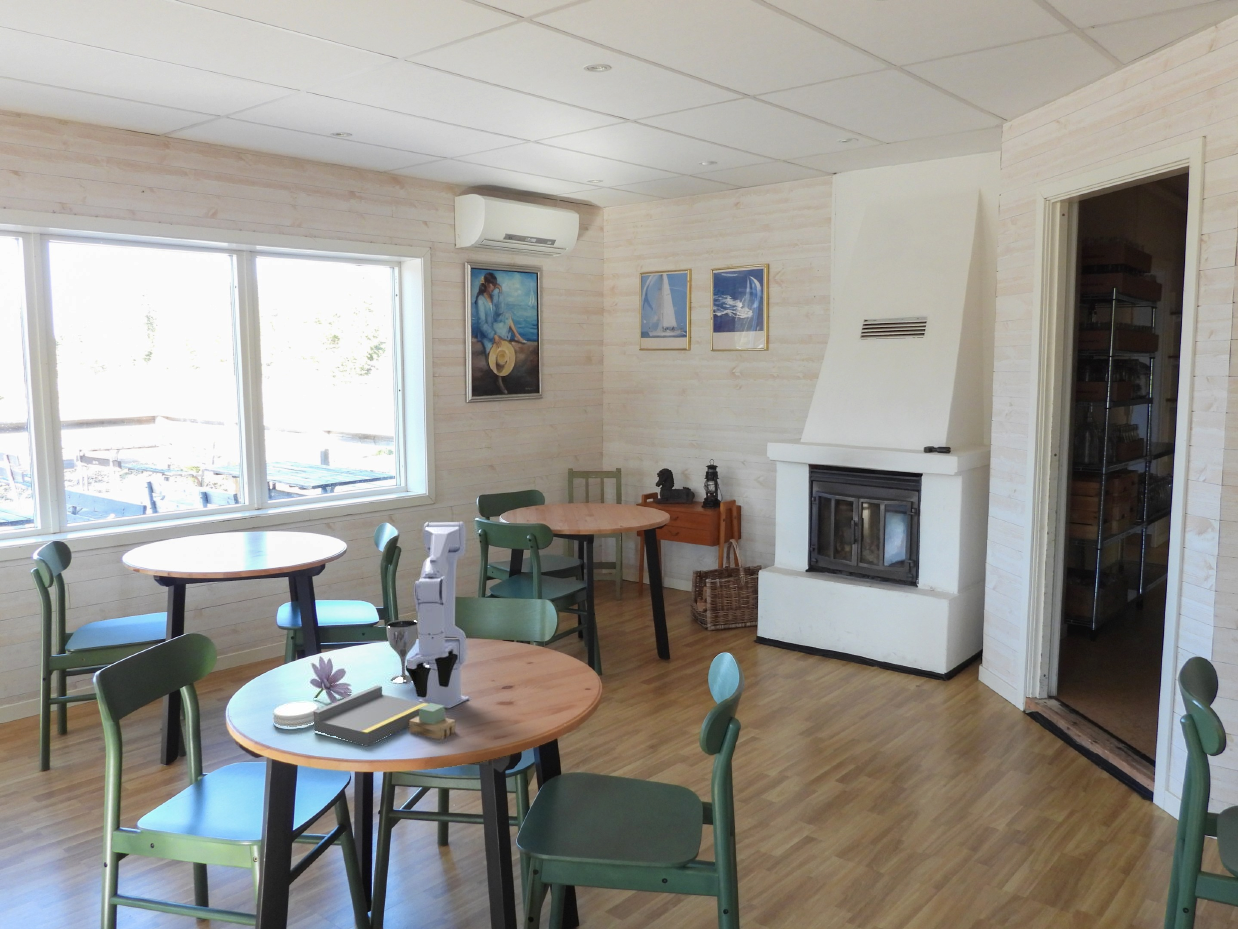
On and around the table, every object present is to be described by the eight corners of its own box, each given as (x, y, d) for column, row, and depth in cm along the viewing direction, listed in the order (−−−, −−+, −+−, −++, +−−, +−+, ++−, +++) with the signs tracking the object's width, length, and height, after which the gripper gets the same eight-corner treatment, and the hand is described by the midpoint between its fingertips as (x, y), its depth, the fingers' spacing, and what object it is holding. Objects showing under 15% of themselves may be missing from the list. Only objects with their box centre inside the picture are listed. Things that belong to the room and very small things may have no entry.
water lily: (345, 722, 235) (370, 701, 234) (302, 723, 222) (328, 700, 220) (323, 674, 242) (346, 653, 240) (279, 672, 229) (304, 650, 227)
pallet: (409, 733, 210) (409, 720, 210) (424, 726, 215) (424, 713, 214) (440, 740, 206) (440, 727, 206) (455, 733, 210) (455, 720, 210)
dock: (314, 733, 210) (313, 711, 210) (377, 705, 227) (377, 685, 227) (367, 746, 202) (366, 724, 202) (429, 716, 220) (428, 696, 219)
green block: (419, 721, 209) (418, 708, 209) (431, 715, 213) (430, 703, 212) (433, 724, 207) (432, 711, 207) (444, 718, 211) (444, 706, 210)
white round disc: (266, 723, 217) (265, 708, 217) (306, 712, 224) (306, 697, 224) (285, 734, 210) (284, 719, 210) (327, 722, 217) (326, 708, 217)
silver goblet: (421, 682, 245) (420, 625, 243) (390, 685, 242) (388, 628, 240) (416, 673, 252) (414, 618, 251) (386, 676, 249) (384, 621, 248)
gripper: (423, 642, 200) (425, 704, 201) (466, 626, 212) (467, 684, 214) (398, 638, 203) (400, 699, 204) (441, 622, 216) (443, 680, 217)
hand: (433, 691), depth 209 cm, fingers open, 7 cm apart
